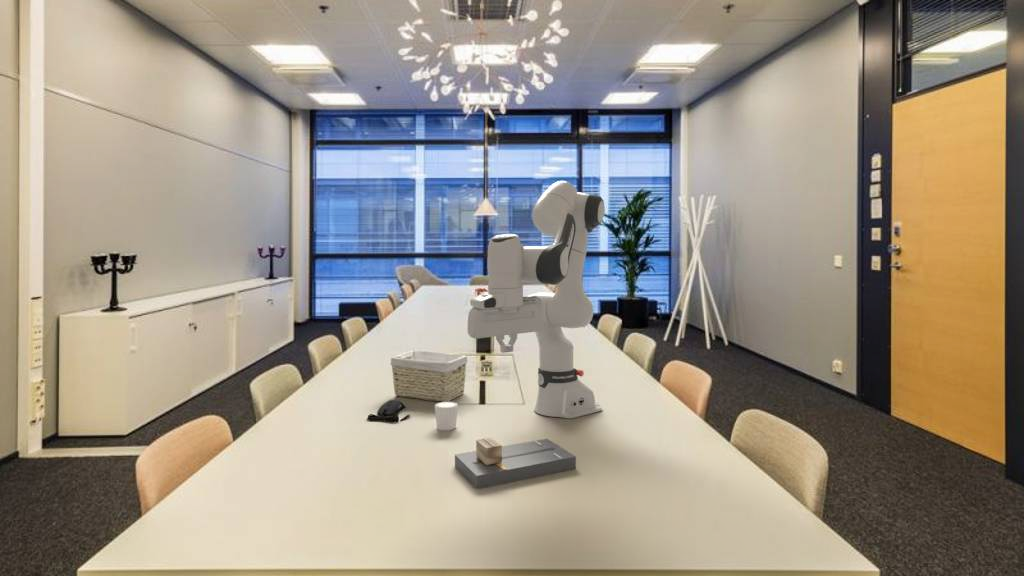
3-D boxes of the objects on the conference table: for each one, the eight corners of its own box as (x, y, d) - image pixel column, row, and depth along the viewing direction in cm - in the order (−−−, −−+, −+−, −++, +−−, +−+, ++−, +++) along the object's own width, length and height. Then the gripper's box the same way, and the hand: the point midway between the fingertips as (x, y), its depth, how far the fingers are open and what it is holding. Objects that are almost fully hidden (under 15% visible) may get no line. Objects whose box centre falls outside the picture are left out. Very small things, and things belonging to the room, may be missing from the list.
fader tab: (491, 453, 135) (491, 436, 135) (501, 462, 130) (501, 444, 129) (476, 456, 133) (476, 439, 133) (486, 465, 128) (486, 447, 127)
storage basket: (469, 393, 203) (469, 354, 202) (447, 405, 188) (447, 362, 187) (413, 387, 212) (413, 349, 211) (389, 397, 198) (388, 356, 196)
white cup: (453, 431, 161) (453, 408, 160) (431, 430, 162) (431, 406, 161) (460, 424, 167) (460, 401, 167) (439, 423, 169) (439, 400, 168)
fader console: (547, 449, 147) (547, 437, 146) (575, 468, 134) (575, 455, 134) (454, 466, 135) (454, 453, 135) (476, 488, 123) (476, 474, 122)
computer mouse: (425, 409, 184) (424, 398, 184) (399, 425, 167) (399, 412, 167) (392, 406, 188) (392, 395, 187) (364, 422, 171) (363, 409, 171)
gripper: (535, 294, 147) (536, 345, 149) (464, 300, 138) (465, 354, 140) (547, 296, 142) (548, 349, 143) (473, 302, 133) (475, 359, 134)
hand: (506, 351), depth 141 cm, fingers closed
